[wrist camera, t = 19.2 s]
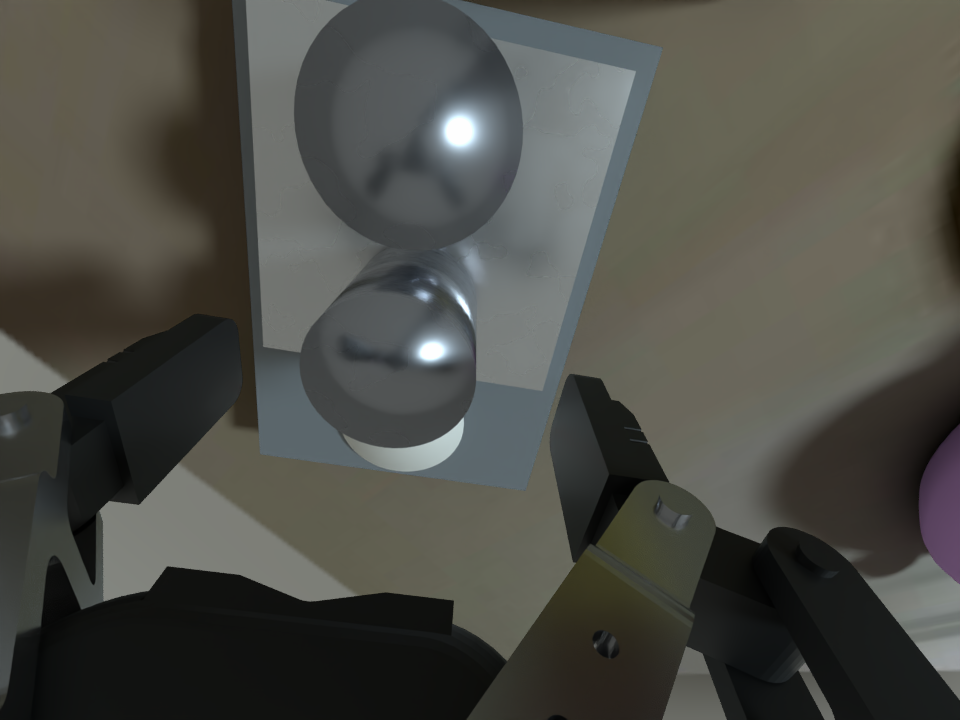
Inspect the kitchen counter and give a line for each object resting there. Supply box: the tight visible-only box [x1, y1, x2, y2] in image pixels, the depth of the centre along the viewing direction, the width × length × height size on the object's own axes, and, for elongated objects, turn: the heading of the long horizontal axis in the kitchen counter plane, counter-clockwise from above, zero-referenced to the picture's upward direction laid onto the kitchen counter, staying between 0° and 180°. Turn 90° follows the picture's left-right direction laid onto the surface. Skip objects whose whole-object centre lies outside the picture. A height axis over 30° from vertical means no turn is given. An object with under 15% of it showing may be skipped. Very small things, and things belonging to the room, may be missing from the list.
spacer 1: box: [294, 0, 523, 251], centre depth 12 cm, size 5×5×6 cm
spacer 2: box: [299, 247, 477, 448], centre depth 14 cm, size 5×5×6 cm
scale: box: [232, 0, 663, 491], centre depth 19 cm, size 14×20×4 cm
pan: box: [246, 0, 636, 391], centre depth 16 cm, size 12×12×1 cm
